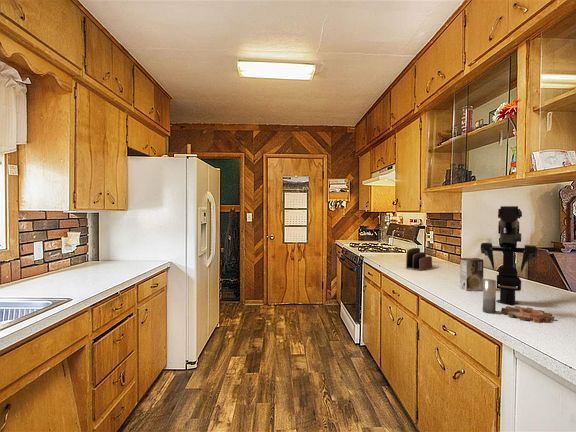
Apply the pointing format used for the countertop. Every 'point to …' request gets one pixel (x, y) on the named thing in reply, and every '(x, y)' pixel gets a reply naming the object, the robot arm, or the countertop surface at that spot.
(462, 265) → the coffee box
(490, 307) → the drive pin
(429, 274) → the countertop surface
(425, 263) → the letter holder
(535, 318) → the sprocket
